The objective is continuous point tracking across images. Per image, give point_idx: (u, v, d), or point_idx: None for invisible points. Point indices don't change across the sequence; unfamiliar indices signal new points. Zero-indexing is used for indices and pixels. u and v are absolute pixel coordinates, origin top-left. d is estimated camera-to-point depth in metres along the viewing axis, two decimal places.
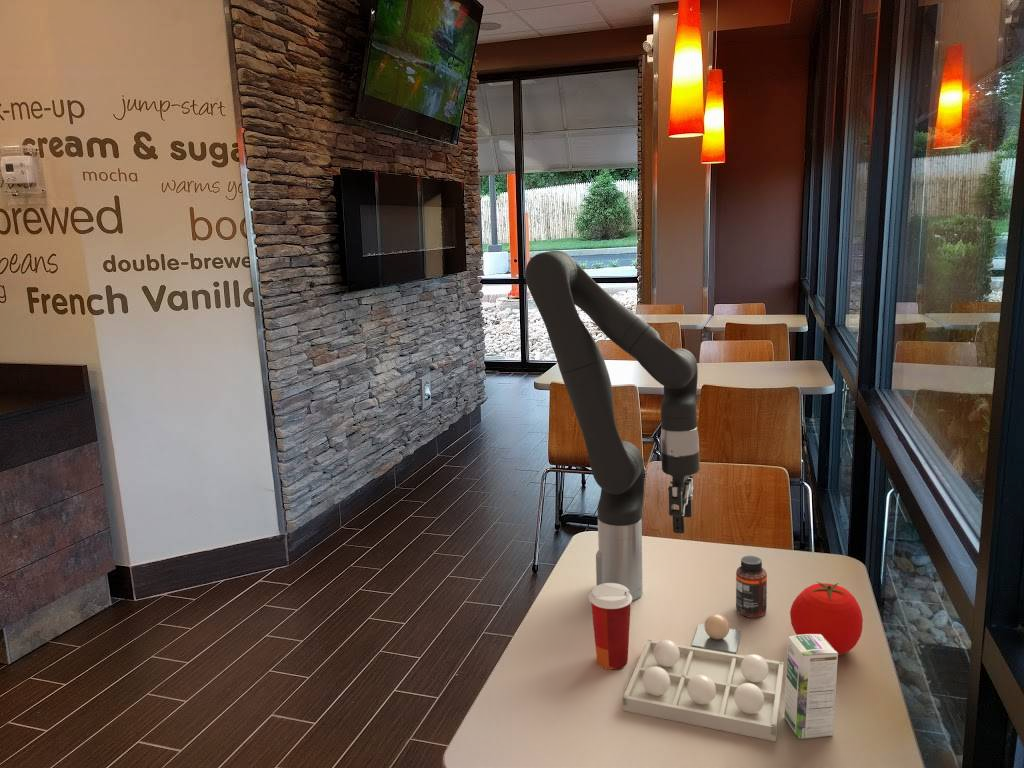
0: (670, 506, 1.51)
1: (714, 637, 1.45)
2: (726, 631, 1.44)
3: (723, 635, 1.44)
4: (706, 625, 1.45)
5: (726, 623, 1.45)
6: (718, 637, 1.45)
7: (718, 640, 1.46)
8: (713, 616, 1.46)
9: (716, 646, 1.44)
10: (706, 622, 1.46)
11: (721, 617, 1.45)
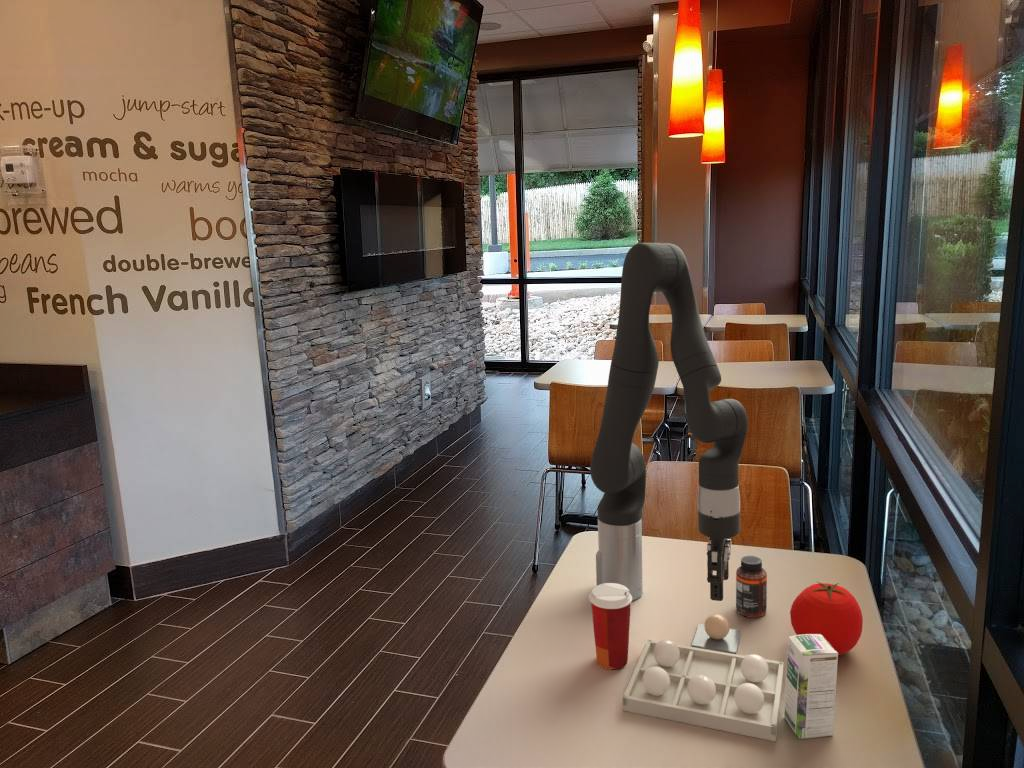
0: (709, 572, 1.37)
1: (714, 637, 1.45)
2: (726, 631, 1.44)
3: (723, 635, 1.44)
4: (706, 625, 1.45)
5: (726, 623, 1.45)
6: (718, 637, 1.45)
7: (718, 640, 1.46)
8: (713, 616, 1.46)
9: (716, 646, 1.44)
10: (706, 622, 1.46)
11: (721, 617, 1.45)
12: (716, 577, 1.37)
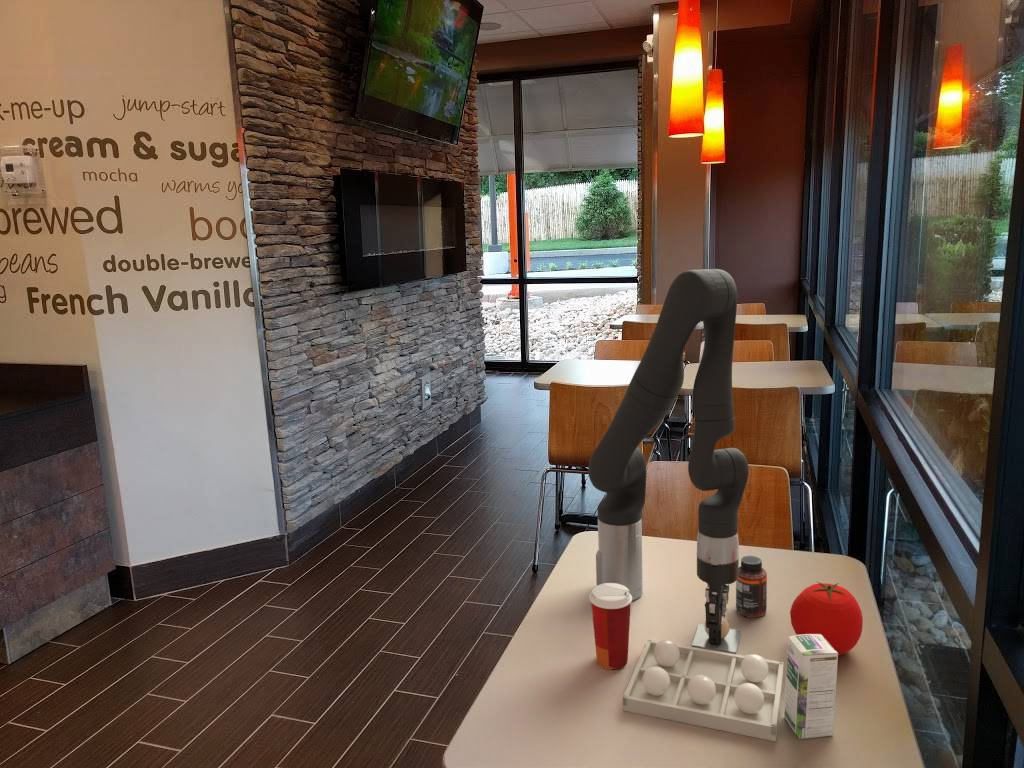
0: (707, 621, 1.41)
1: None
2: (726, 631, 1.44)
3: (723, 635, 1.44)
4: None
5: (726, 623, 1.45)
6: None
7: None
8: None
9: (716, 646, 1.44)
10: None
11: None
12: (715, 623, 1.41)
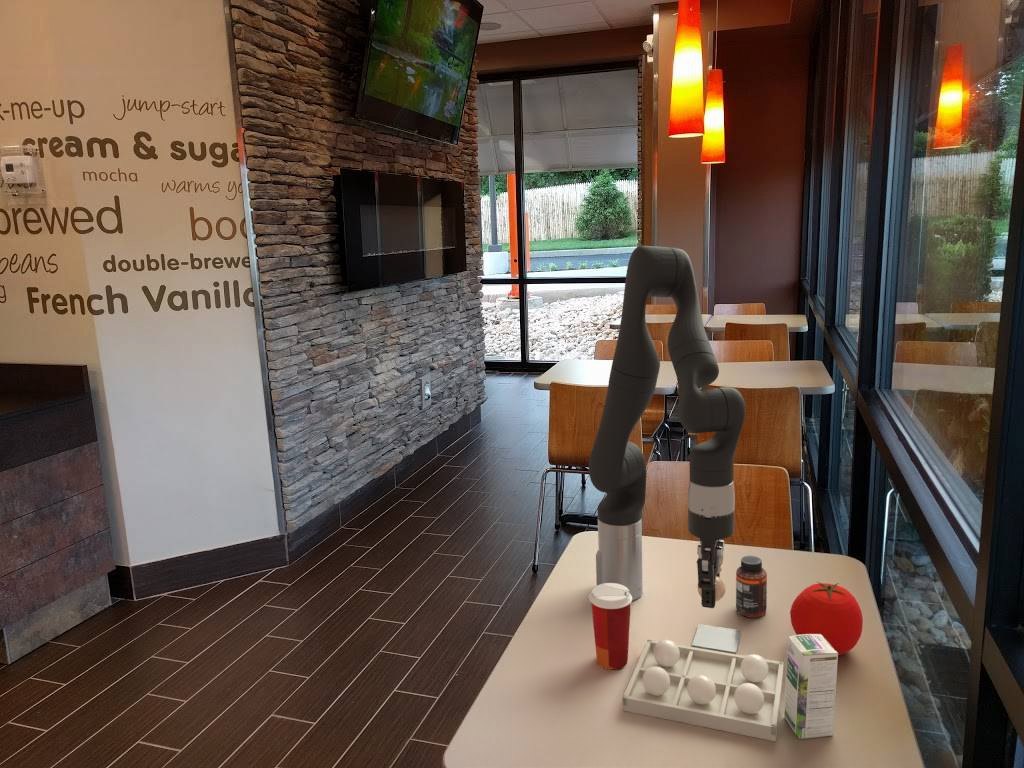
0: (699, 580, 1.26)
1: None
2: (721, 593, 1.30)
3: (719, 597, 1.30)
4: None
5: (722, 584, 1.30)
6: None
7: (718, 640, 1.46)
8: None
9: (716, 646, 1.44)
10: None
11: (716, 577, 1.31)
12: (708, 582, 1.26)
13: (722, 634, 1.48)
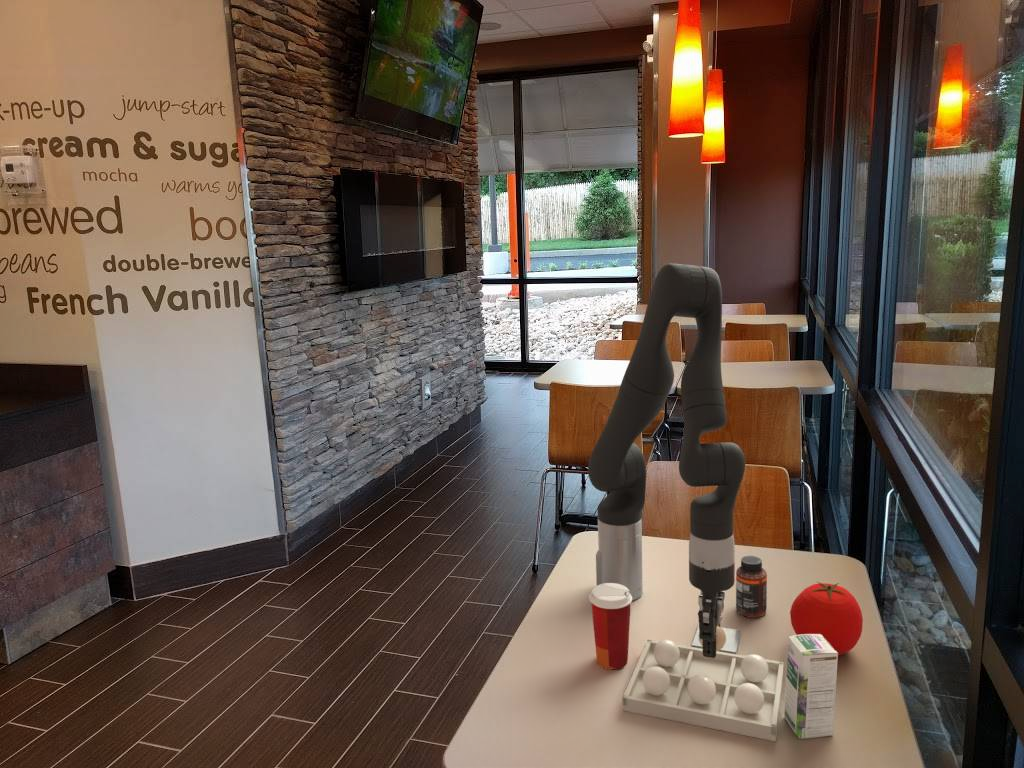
0: (701, 631, 1.28)
1: None
2: (722, 642, 1.32)
3: (720, 646, 1.32)
4: None
5: (722, 634, 1.32)
6: None
7: None
8: None
9: None
10: None
11: (717, 627, 1.33)
12: (709, 634, 1.28)
13: None
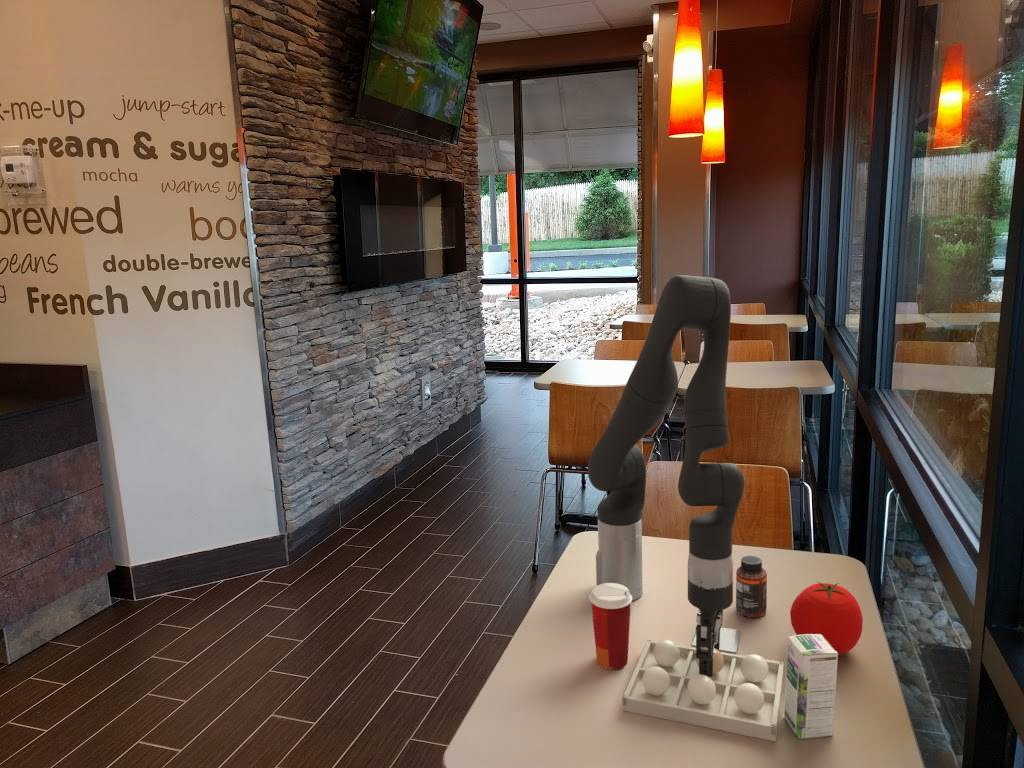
0: (698, 648, 1.27)
1: None
2: (720, 666, 1.33)
3: (717, 670, 1.33)
4: None
5: (720, 657, 1.33)
6: None
7: None
8: (706, 649, 1.34)
9: None
10: None
11: (715, 650, 1.34)
12: (705, 653, 1.28)
13: (722, 634, 1.48)
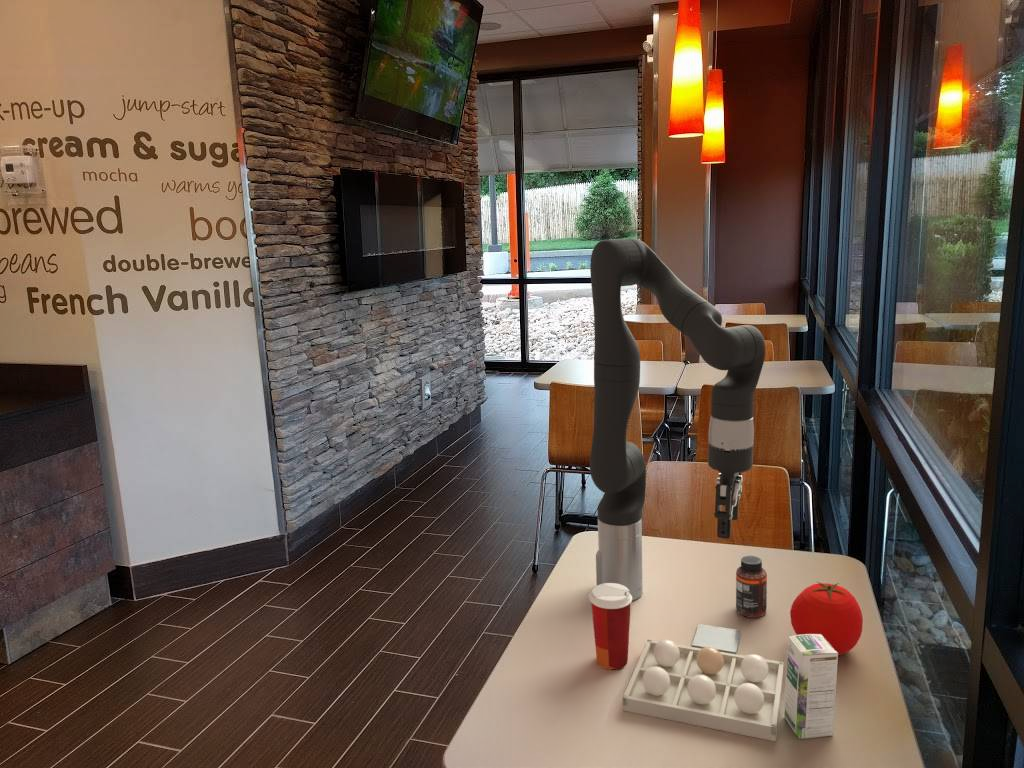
0: (716, 507, 1.30)
1: (707, 672, 1.33)
2: (720, 666, 1.33)
3: (717, 670, 1.33)
4: (699, 660, 1.34)
5: (720, 657, 1.33)
6: (711, 672, 1.33)
7: (718, 640, 1.46)
8: (706, 649, 1.34)
9: (716, 646, 1.44)
10: (698, 656, 1.34)
11: (714, 650, 1.34)
12: (724, 512, 1.30)
13: (722, 634, 1.48)
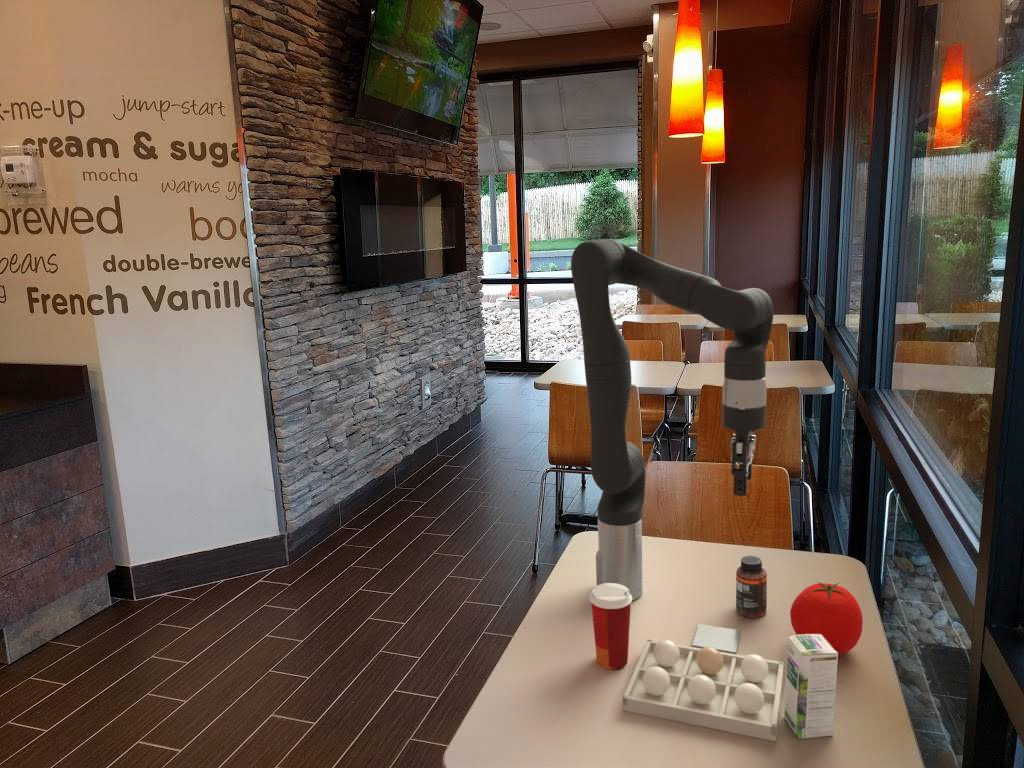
0: (733, 464, 1.34)
1: (707, 673, 1.33)
2: (720, 666, 1.33)
3: (717, 670, 1.33)
4: (698, 660, 1.34)
5: (720, 657, 1.33)
6: (711, 673, 1.33)
7: (718, 640, 1.46)
8: (705, 649, 1.34)
9: (716, 646, 1.44)
10: (698, 656, 1.34)
11: (714, 650, 1.34)
12: (740, 469, 1.34)
13: (722, 634, 1.48)
